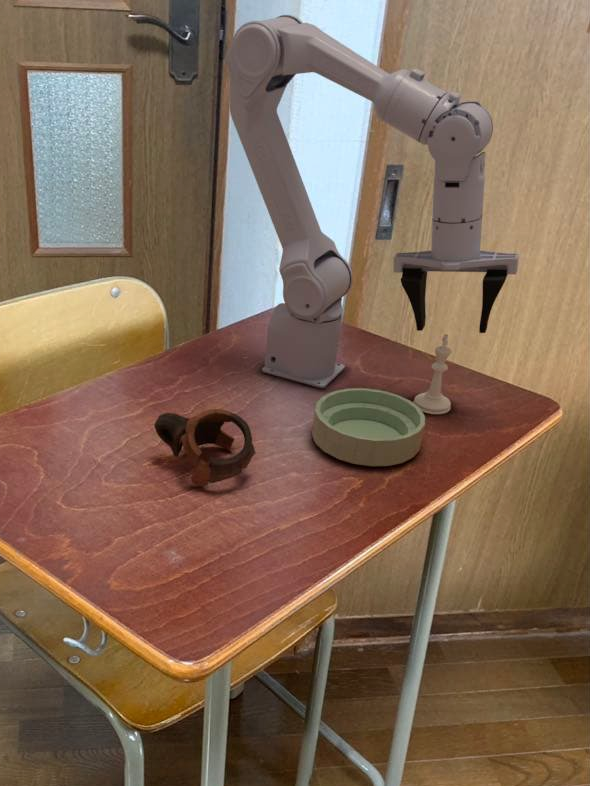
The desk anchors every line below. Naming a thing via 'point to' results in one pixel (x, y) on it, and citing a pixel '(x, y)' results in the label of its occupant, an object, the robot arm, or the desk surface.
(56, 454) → the desk surface
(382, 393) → the bowl
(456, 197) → the robot arm
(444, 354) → the chess piece
